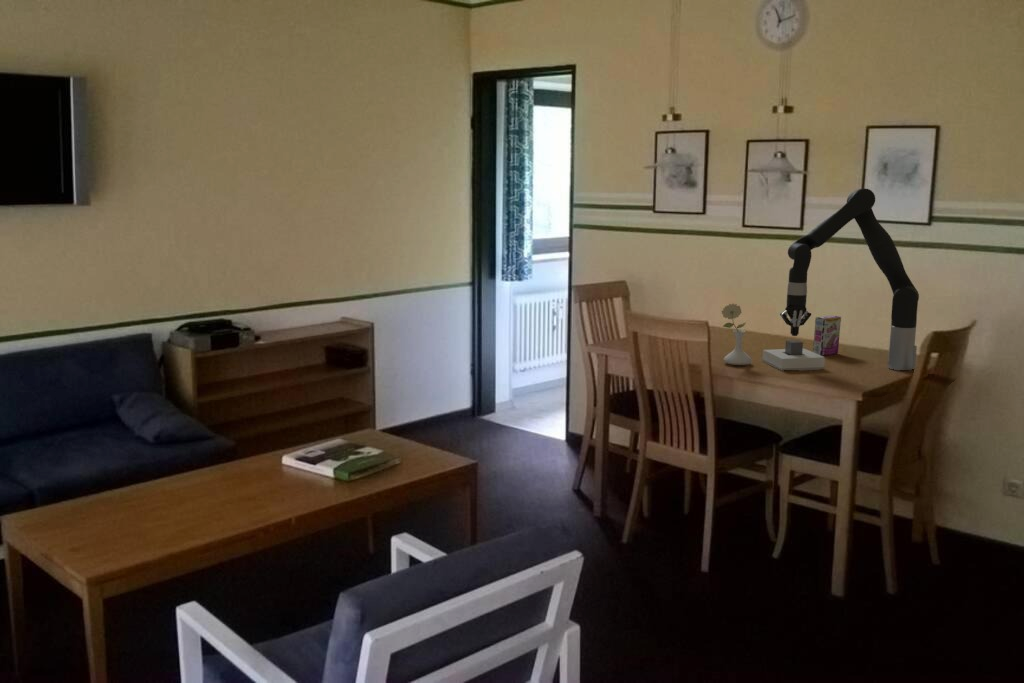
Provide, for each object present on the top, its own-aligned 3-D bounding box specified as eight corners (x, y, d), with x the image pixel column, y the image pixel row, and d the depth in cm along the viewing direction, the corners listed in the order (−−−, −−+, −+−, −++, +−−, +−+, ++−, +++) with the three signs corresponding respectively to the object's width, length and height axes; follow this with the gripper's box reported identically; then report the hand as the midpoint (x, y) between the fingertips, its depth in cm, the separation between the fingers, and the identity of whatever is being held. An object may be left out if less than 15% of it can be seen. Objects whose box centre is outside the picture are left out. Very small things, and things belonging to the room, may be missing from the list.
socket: (803, 360, 391) (804, 348, 390) (824, 369, 373) (824, 357, 372) (762, 361, 388) (763, 349, 387) (781, 371, 371) (782, 358, 370)
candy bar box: (821, 356, 398) (824, 318, 395) (812, 354, 402) (814, 317, 399) (839, 353, 404) (841, 316, 401) (829, 351, 408) (832, 314, 405)
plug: (796, 361, 383) (797, 340, 382) (801, 364, 378) (803, 342, 377) (784, 362, 383) (785, 340, 381) (789, 364, 378) (791, 342, 376)
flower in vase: (753, 362, 386) (756, 302, 382) (750, 368, 376) (753, 306, 371) (721, 360, 391) (723, 301, 386) (717, 365, 380) (720, 304, 375)
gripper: (808, 291, 380) (805, 333, 383) (777, 292, 378) (774, 334, 381) (816, 294, 373) (814, 337, 376) (785, 294, 371) (782, 337, 374)
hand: (794, 335), depth 379 cm, fingers closed
